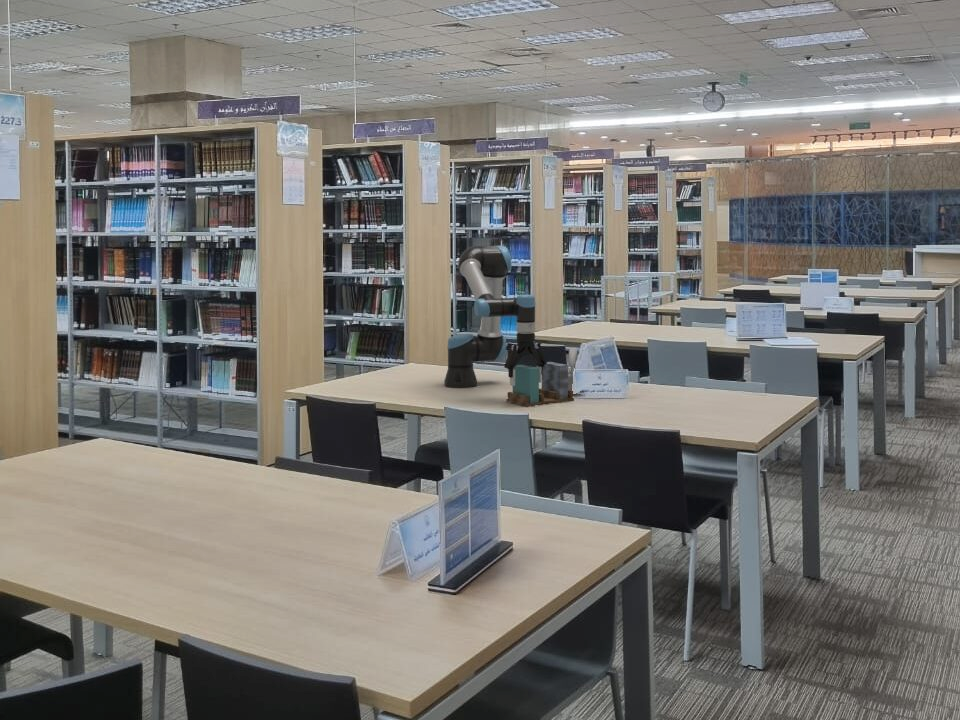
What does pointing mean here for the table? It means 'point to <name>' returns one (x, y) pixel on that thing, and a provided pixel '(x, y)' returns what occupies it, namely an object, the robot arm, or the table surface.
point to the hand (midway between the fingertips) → (525, 383)
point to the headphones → (572, 360)
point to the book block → (527, 382)
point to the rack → (548, 387)
